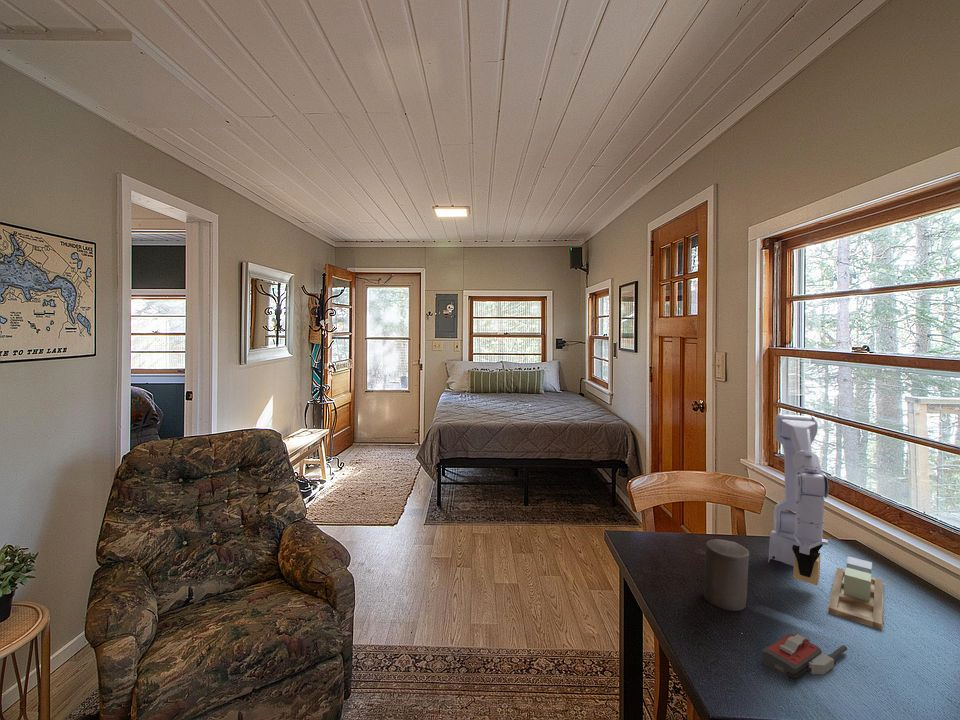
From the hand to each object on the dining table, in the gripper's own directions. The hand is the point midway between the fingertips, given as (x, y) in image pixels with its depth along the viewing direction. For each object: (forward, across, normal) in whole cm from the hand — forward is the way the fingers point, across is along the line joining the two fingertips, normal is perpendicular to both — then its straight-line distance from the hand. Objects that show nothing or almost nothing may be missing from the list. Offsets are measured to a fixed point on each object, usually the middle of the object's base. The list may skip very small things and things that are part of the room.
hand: (806, 571), depth 118 cm
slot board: (+7, +5, -10) cm, 13 cm away
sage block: (+5, +5, -10) cm, 12 cm away
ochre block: (+2, 0, 0) cm, 2 cm away
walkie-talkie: (+7, -28, -3) cm, 29 cm away
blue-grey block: (+5, +13, -10) cm, 17 cm away
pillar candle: (+7, -16, +15) cm, 23 cm away
